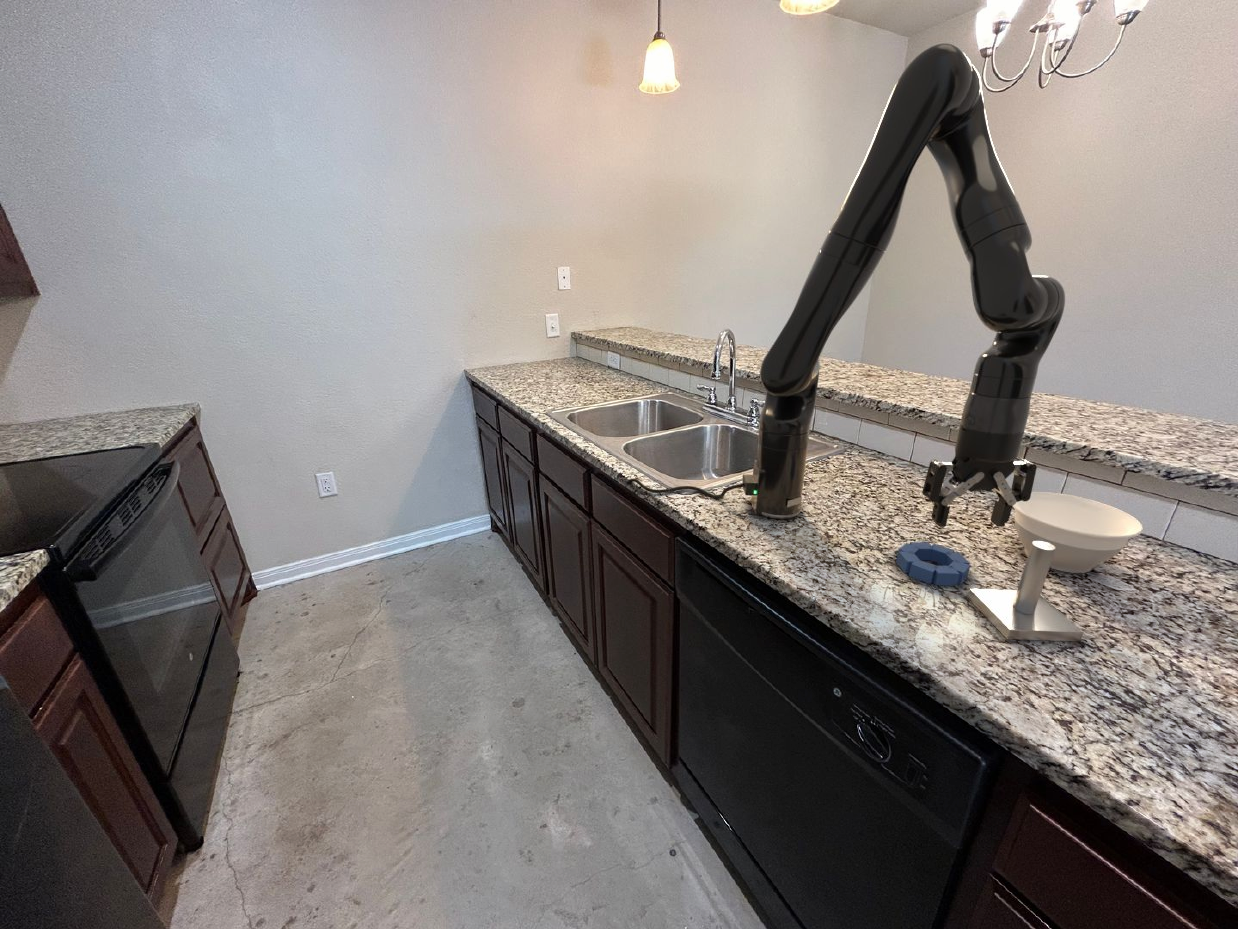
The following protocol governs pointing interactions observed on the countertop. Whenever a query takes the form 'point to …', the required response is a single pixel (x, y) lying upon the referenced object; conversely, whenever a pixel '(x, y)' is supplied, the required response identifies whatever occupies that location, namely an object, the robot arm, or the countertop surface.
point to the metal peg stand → (1027, 604)
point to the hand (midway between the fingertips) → (967, 524)
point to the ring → (939, 575)
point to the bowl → (1074, 529)
